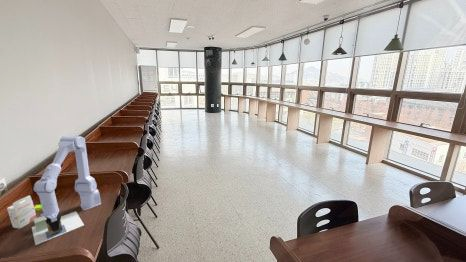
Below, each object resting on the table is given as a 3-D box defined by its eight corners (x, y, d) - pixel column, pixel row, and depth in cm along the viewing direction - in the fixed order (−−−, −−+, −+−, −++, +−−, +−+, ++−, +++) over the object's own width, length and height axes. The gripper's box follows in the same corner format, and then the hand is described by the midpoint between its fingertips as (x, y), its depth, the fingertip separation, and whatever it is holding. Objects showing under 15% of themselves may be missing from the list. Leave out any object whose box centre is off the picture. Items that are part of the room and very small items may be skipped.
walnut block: (60, 225, 111) (58, 216, 110) (62, 230, 108) (60, 221, 107) (48, 230, 108) (45, 221, 107) (49, 235, 105) (47, 226, 103)
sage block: (48, 222, 115) (46, 214, 114) (49, 227, 112) (47, 218, 110) (35, 227, 112) (33, 218, 110) (37, 232, 108) (34, 223, 107)
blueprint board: (76, 211, 125) (76, 211, 125) (84, 225, 113) (84, 225, 113) (31, 228, 112) (31, 227, 112) (35, 245, 100) (35, 245, 100)
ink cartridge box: (30, 218, 120) (24, 193, 117) (37, 219, 119) (31, 194, 116) (12, 228, 112) (4, 202, 109) (19, 229, 111) (12, 203, 108)
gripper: (36, 201, 107) (42, 225, 110) (40, 213, 97) (46, 239, 100) (54, 195, 112) (60, 218, 115) (60, 206, 102) (65, 231, 105)
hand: (55, 227), depth 108 cm, fingers closed on walnut block, 5 cm apart
